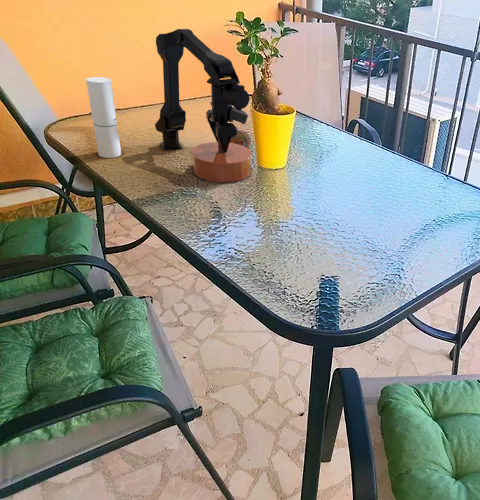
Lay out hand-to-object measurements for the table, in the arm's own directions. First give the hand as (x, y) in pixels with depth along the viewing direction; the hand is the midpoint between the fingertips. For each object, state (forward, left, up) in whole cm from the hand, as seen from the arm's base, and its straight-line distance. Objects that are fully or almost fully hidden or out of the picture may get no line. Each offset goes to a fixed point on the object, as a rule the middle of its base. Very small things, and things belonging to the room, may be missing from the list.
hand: (221, 147), depth 156 cm
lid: (0, 0, -2) cm, 2 cm away
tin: (-20, +9, -9) cm, 24 cm away
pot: (0, 0, -9) cm, 9 cm away
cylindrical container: (-21, -34, -9) cm, 41 cm away
